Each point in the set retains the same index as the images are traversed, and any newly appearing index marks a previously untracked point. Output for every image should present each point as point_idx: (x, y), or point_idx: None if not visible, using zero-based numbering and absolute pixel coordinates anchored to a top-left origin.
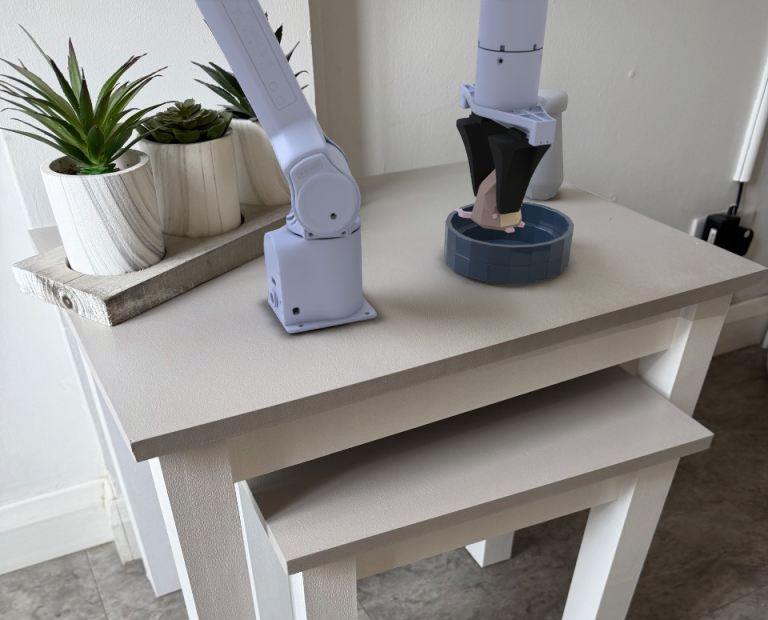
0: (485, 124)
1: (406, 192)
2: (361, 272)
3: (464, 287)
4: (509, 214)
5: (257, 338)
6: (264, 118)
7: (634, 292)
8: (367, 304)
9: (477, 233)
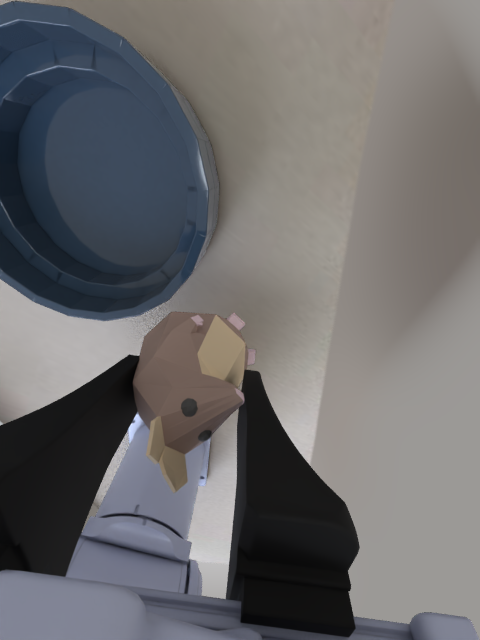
0: (40, 557)
1: None
2: None
3: (177, 304)
4: (237, 370)
5: (198, 496)
6: None
7: (342, 29)
8: None
9: (12, 197)
